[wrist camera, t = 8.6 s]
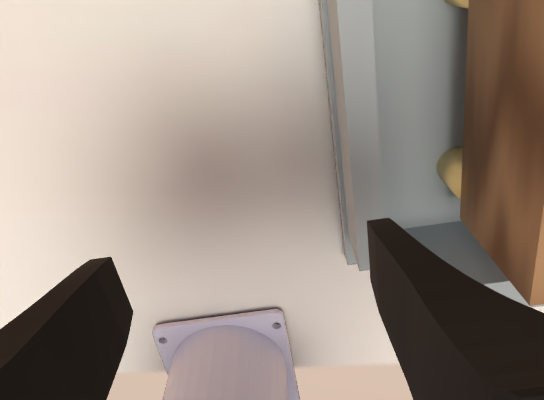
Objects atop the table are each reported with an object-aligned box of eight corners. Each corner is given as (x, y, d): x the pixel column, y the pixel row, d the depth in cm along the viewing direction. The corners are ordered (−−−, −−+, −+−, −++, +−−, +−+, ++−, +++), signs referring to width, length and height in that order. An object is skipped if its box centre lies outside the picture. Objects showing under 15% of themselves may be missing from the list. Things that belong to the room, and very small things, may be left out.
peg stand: (602, 218, 24) (700, 289, 18) (344, 254, 25) (366, 331, 19) (694, -215, 16) (916, -315, 10) (304, -139, 16) (323, -194, 11)
